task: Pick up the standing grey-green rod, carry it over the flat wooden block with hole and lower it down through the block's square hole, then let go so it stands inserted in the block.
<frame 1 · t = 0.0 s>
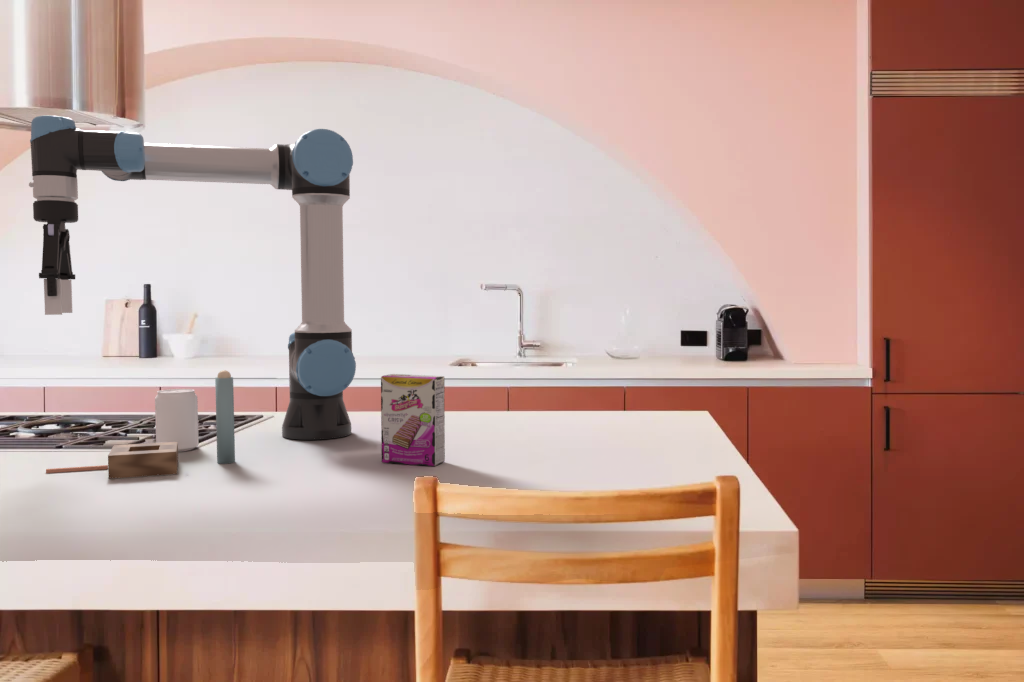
hand: (59, 314, 168), 28 cm above the counter, fingers open, 13 cm apart
copper rod: (77, 470, 160), on the counter
candy bar box: (413, 464, 166), on the counter
wooden block with hole: (145, 470, 160), on the counter
beverage can: (177, 450, 181), on the counter
grey-green rod: (226, 462, 167), on the counter
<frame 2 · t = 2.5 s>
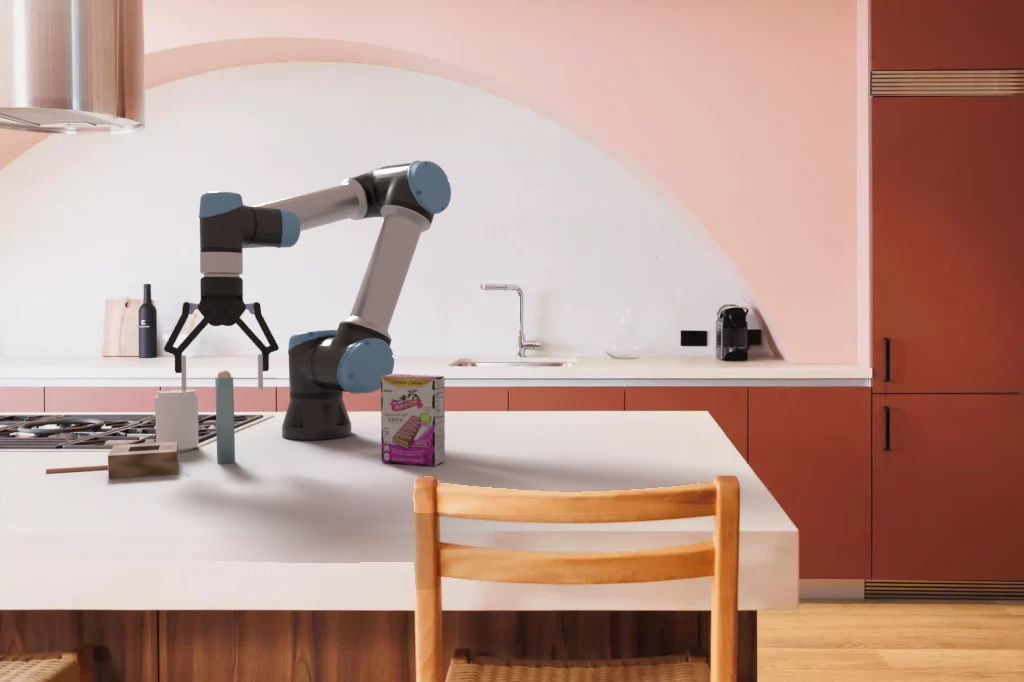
hand: (222, 389, 166), 14 cm above the counter, fingers open, 13 cm apart
nothing on the counter moved.
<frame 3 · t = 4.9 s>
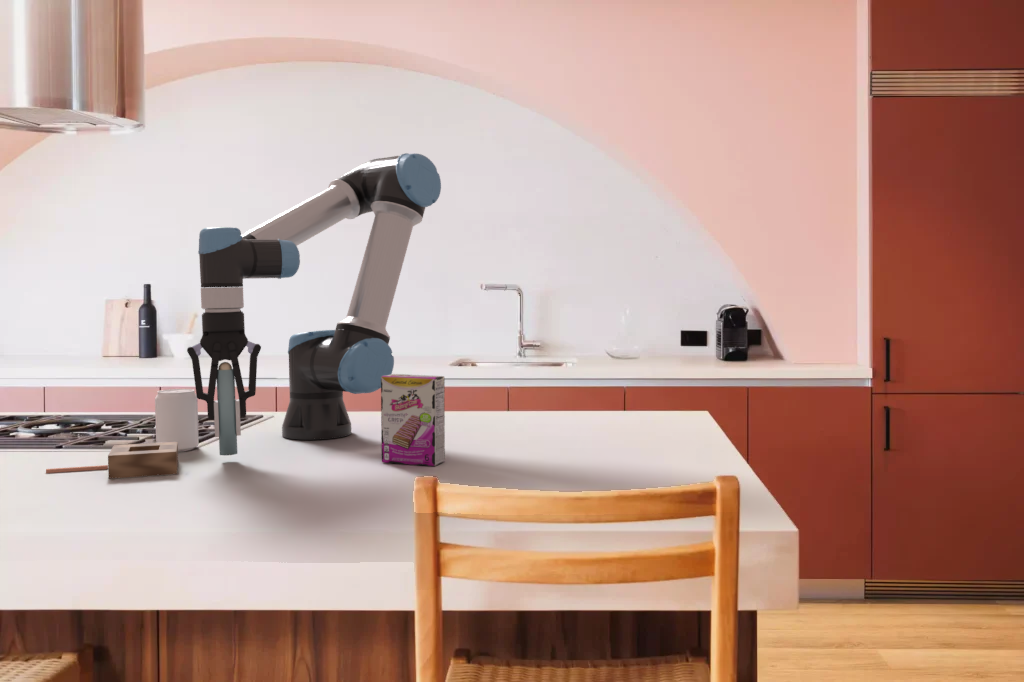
hand: (227, 434, 167), 5 cm above the counter, fingers closed on grey-green rod, 3 cm apart
grey-green rod: (228, 453, 168), point 2 cm above the counter, touching gripper
everything else where it was.
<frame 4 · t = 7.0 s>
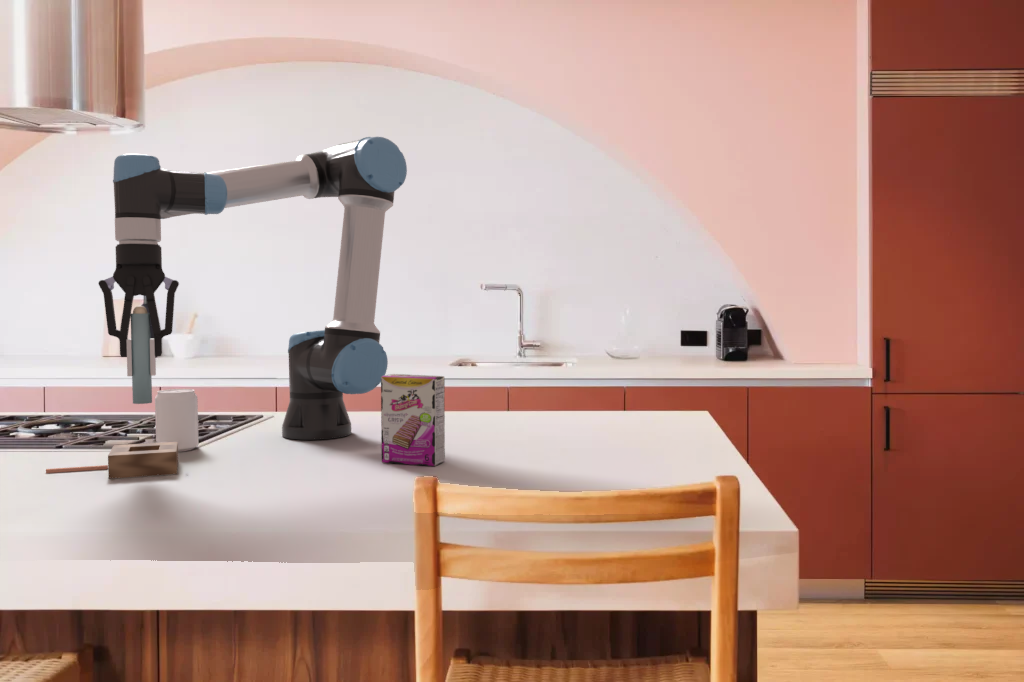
hand: (141, 374, 159), 17 cm above the counter, fingers closed on grey-green rod, 3 cm apart
grey-green rod: (142, 402, 159), point 12 cm above the counter, touching gripper
everything else where it was.
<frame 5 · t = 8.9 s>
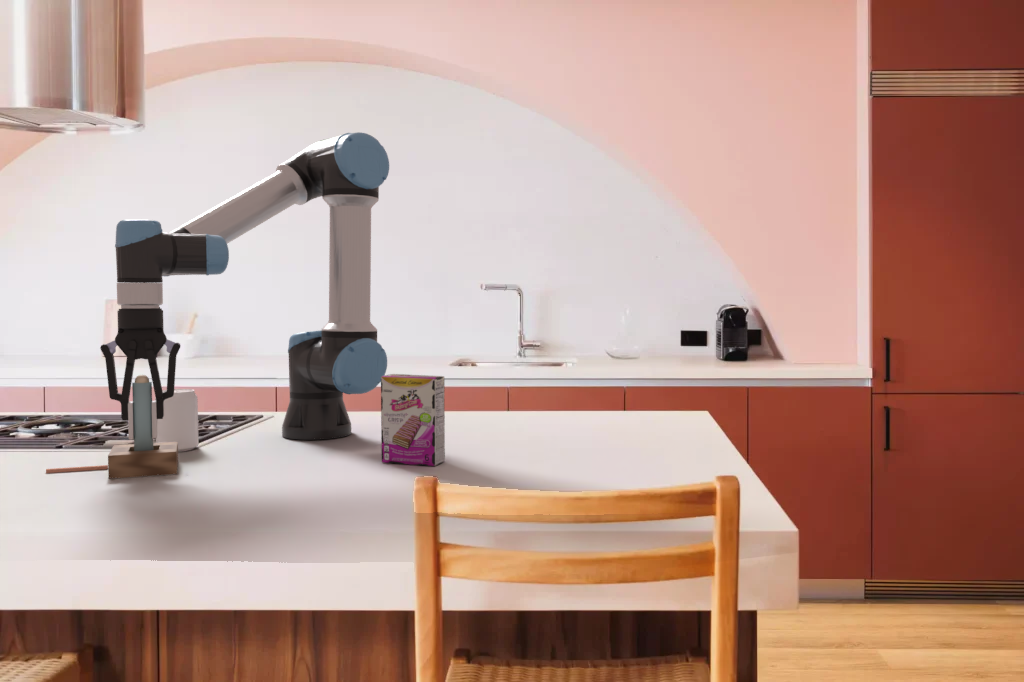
hand: (143, 437, 159), 6 cm above the counter, fingers closed on grey-green rod, 3 cm apart
grey-green rod: (144, 470, 160), resting in wooden block with hole, touching gripper
everything else where it was.
when the fingers open (6 cm above the counter, at t = 9.5 s): grey-green rod stays where it is, resting in wooden block with hole.
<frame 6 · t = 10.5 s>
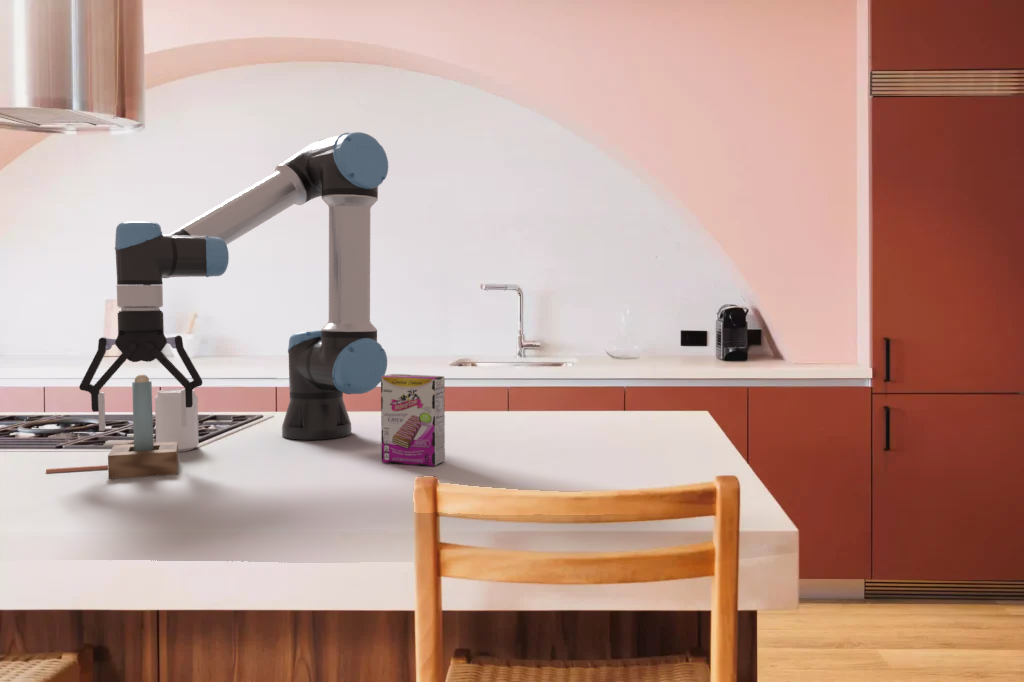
hand: (143, 427, 159), 8 cm above the counter, fingers open, 13 cm apart
grey-green rod: (144, 470, 160), resting in wooden block with hole
everything else where it was.
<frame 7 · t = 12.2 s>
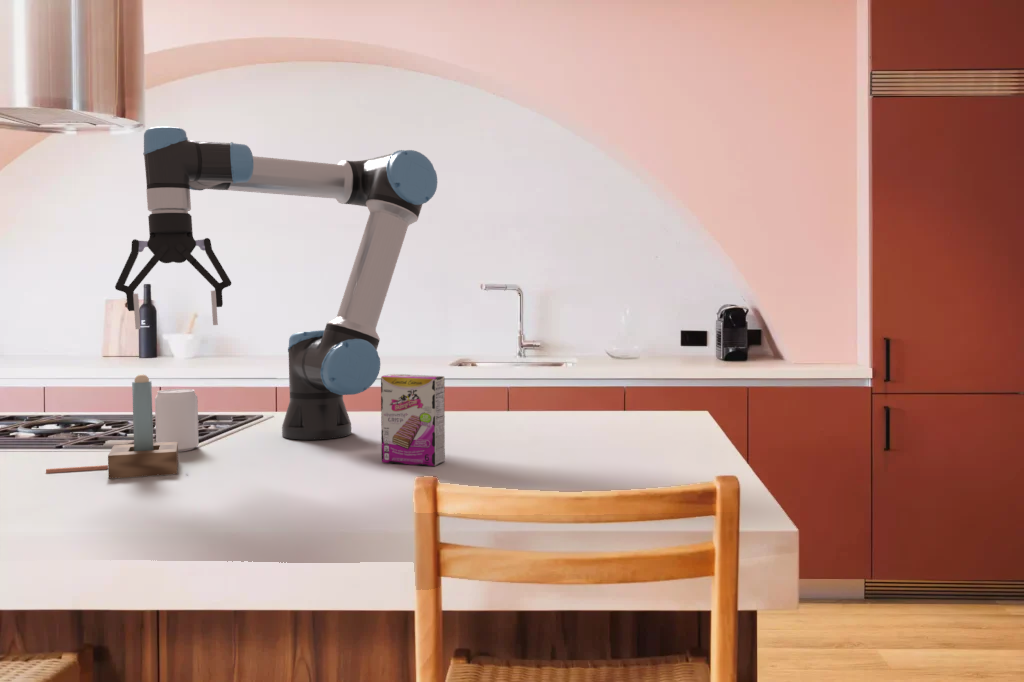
hand: (177, 327, 167), 25 cm above the counter, fingers open, 13 cm apart
nothing on the counter moved.
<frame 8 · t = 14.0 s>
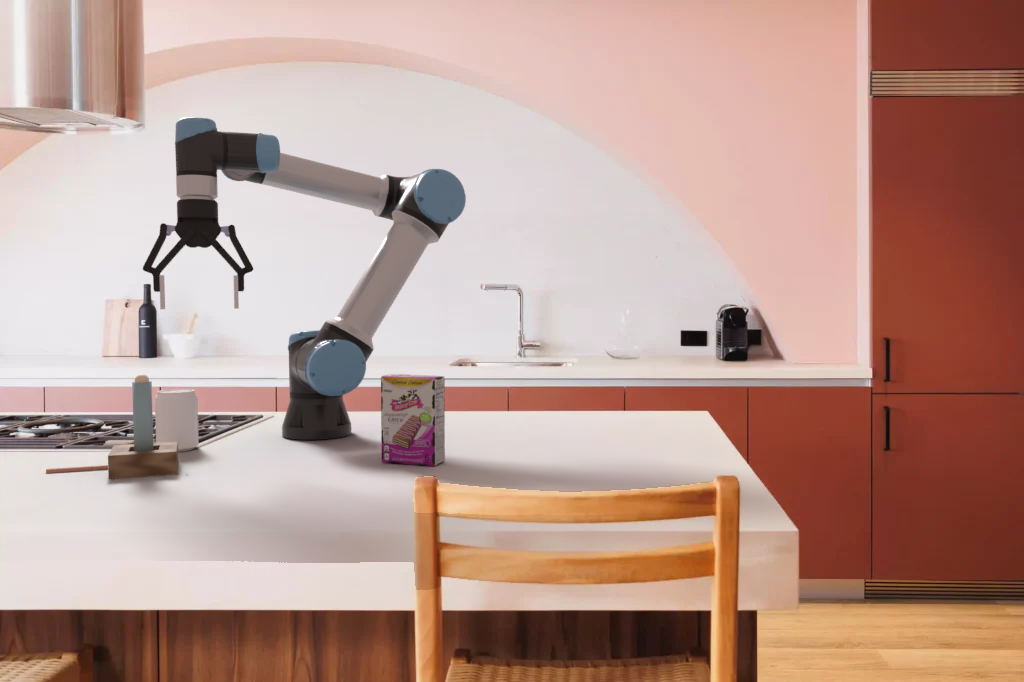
hand: (200, 309, 174), 29 cm above the counter, fingers open, 13 cm apart
nothing on the counter moved.
at the end: grey-green rod 0.1 cm off-centre on the wooden block with hole, point 0.0 cm above the wooden block with hole's base; grey-green rod tilted 0°; the gripper is holding nothing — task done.
